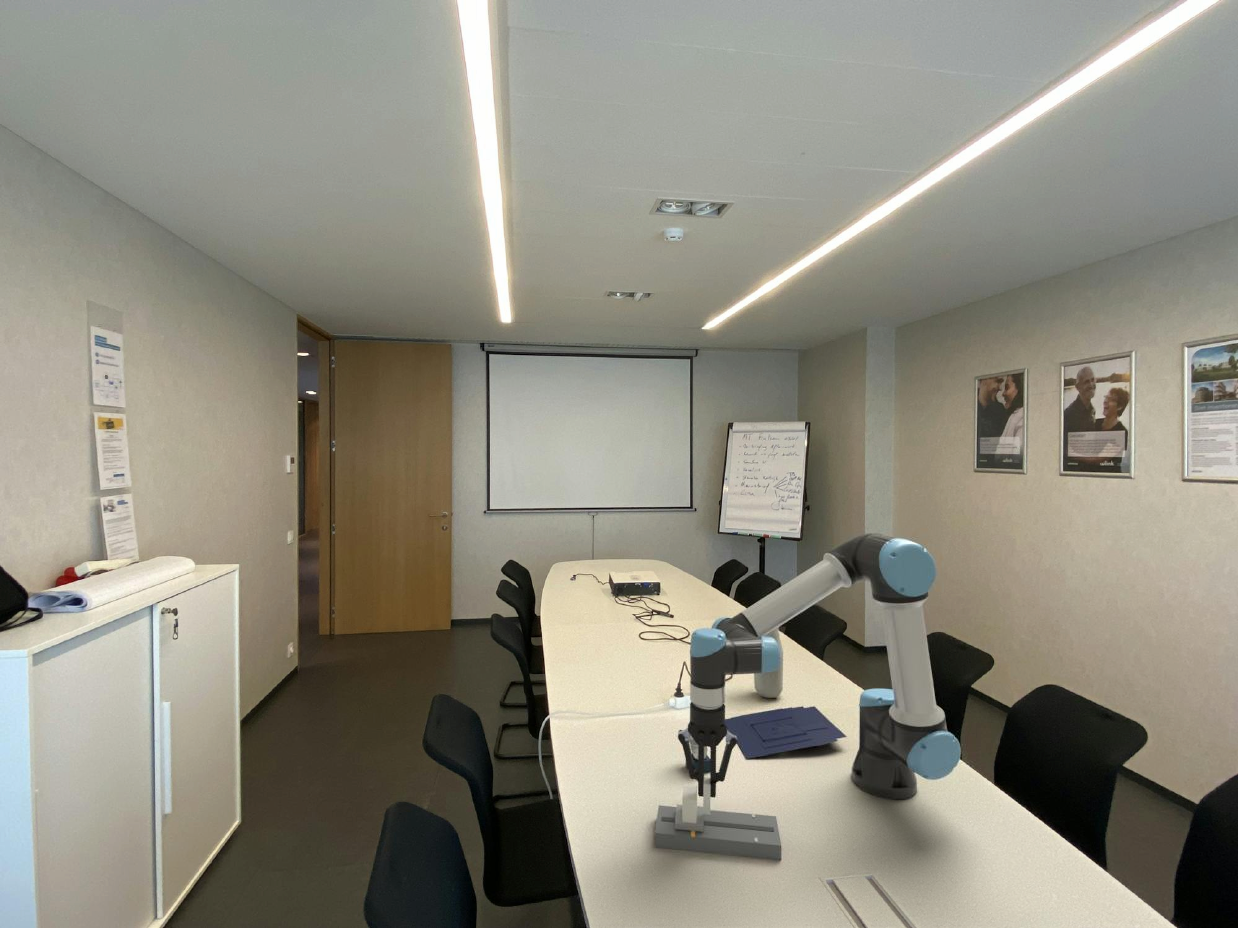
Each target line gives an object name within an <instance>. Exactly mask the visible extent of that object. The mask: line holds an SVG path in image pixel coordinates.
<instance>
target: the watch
mask: <svg viewBox="0 0 1238 928" xmlns="http://www.w3.org/2000/svg"><path fill="white" fill-rule="evenodd" d="M689 744H690V749H691V753H692V757H693V761H694V766H695V770H696V771H698V744H697V743H696V742H695V741H694V739H693V738H692V736H691V735H690V734H689ZM685 767H686V769H687V770H688V767H687V763H686V762H685ZM708 773H710V757H709V755H708V746H706V747H704V774H708Z"/></svg>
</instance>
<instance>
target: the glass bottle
mask: <svg viewBox="0 0 1238 928" xmlns="http://www.w3.org/2000/svg"><path fill="white" fill-rule="evenodd" d="M779 628H780V626H779V627H778V628H776V629H774V630H773V631H771V632H770V633H768V634H767V635H765V636H763V637H772V638H774V639H775V640H776V642H777V643H778V646H779V649H780V655H781V661H780V666H779V668H778V669H777V670H776V671H774V672H768V673H763V674H761V673H754V674H753V680H754V681H753V682H754V683H753V684H754V689H755V692H756V694H758V695H759V696H760V697H762V698H767V699H774V698H777V697H779V696H780V695H781V693H782V692H783V688H784V686H783V685H784V682H783V681H784V678H783V677H784V648H783V644H782V642H781V641H782V640H781V638H780V632H779V630H780V629H779Z"/></svg>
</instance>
